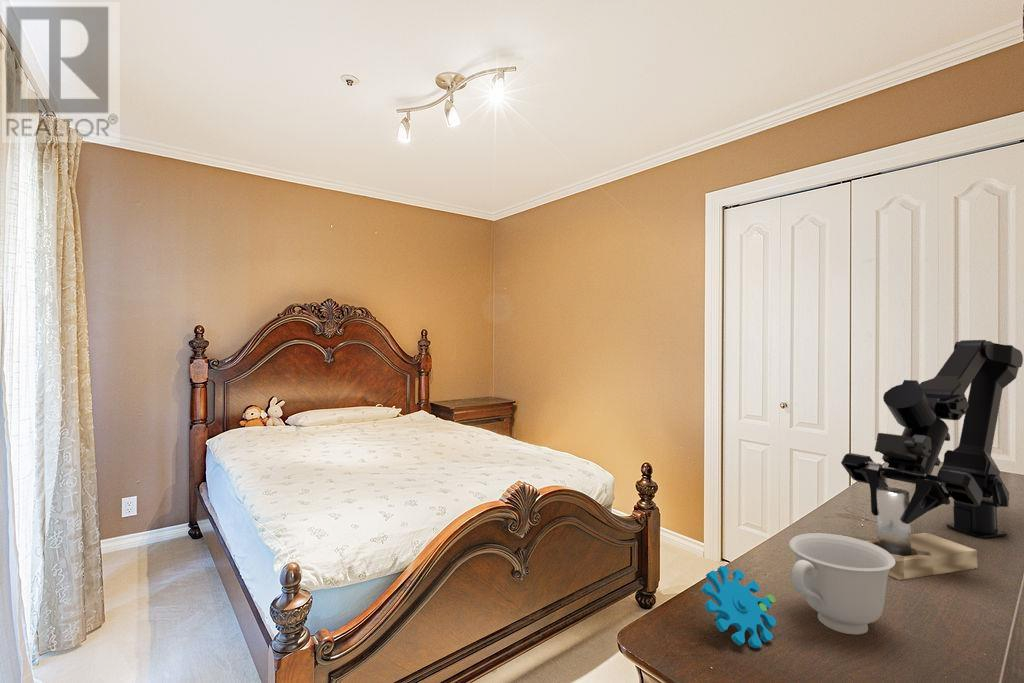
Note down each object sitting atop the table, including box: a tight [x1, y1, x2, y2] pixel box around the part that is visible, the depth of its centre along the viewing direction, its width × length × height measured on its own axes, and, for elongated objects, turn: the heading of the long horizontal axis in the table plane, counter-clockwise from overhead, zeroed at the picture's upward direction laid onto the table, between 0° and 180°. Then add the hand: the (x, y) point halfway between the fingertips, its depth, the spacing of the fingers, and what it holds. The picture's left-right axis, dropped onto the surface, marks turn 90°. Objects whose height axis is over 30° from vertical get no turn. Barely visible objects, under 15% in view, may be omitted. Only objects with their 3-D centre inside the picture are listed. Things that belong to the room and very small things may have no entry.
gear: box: [701, 565, 777, 649], centre depth 66 cm, size 11×6×10 cm
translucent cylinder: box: [876, 486, 912, 557], centre depth 82 cm, size 4×4×11 cm
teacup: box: [788, 532, 895, 636], centre depth 66 cm, size 12×15×10 cm
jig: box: [863, 532, 979, 581], centre depth 83 cm, size 16×8×3 cm, turn 101°
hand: (889, 518), depth 82 cm, fingers closed on translucent cylinder, 4 cm apart
